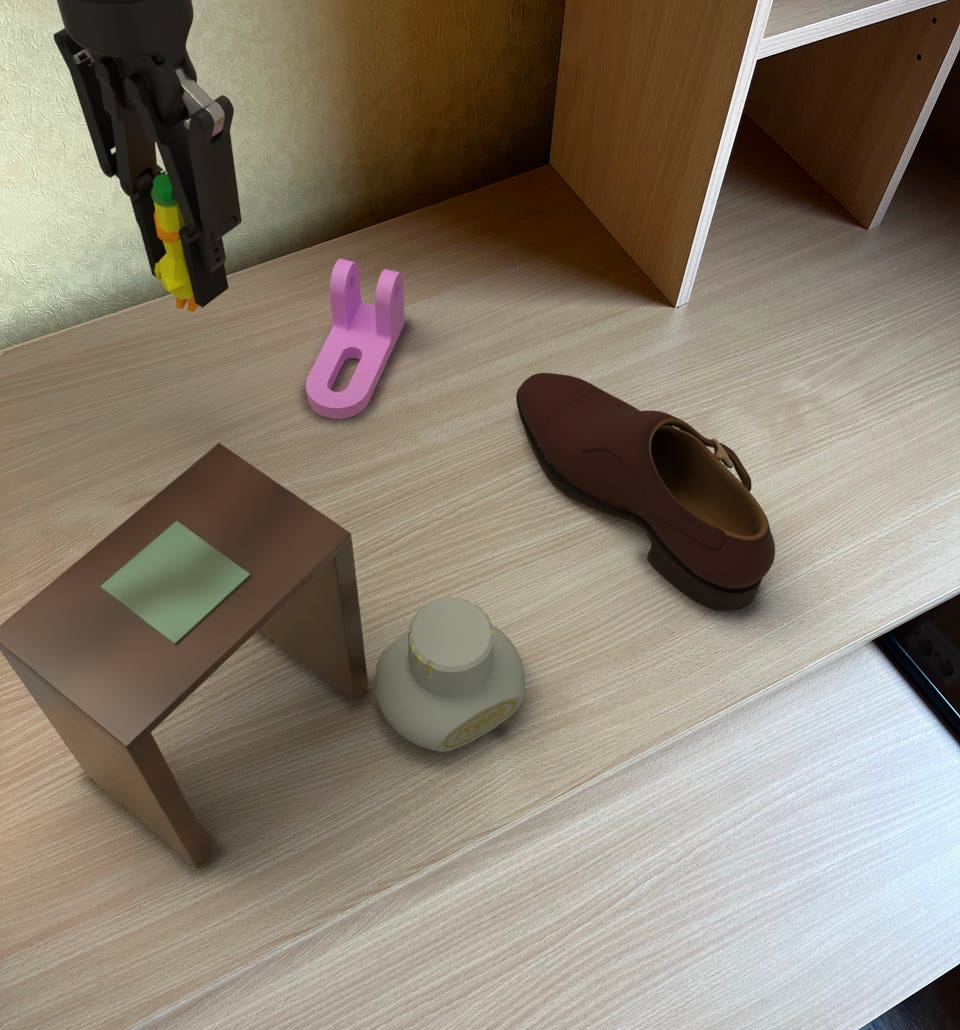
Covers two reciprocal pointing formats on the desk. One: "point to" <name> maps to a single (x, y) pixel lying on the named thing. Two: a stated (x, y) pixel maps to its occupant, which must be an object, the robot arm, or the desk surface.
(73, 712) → the shelf
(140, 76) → the robot arm
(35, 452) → the desk surface
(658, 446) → the dress shoe
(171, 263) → the toy figure
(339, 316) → the bracket
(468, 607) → the air freshener
